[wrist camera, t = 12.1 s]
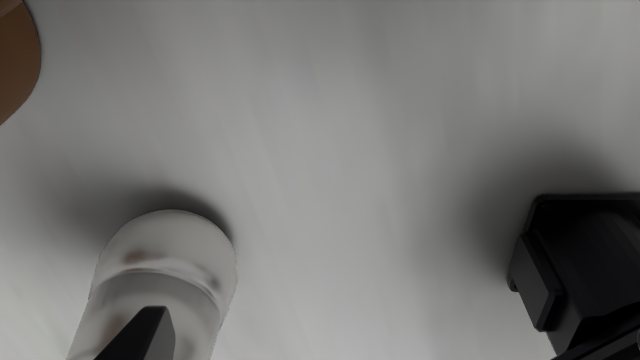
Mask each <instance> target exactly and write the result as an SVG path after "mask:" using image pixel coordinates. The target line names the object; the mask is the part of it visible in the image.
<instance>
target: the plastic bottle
mask: <svg viewBox="0 0 640 360" xmlns="http://www.w3.org/2000/svg"><path fill="white" fill-rule="evenodd" d="M236 286H237V264H236V254H235V251H234V249H233V246H232V244H231V243H230V241H229V240H228V238H227V237H226V236H225V234H224V233H223V232H222V231H221V230H220V229H219V228H218V227H217V226H216V225H215V224H214V223H212V222H211V221H209V220H208V219H206V218H204V217H202V216H200V215H198V214H195V213H191V212H188V211H182V210H160V211H154V212H151V213H148V214H145V215H142V216H139V217H136V218H134V219H132V220H131V221H129V222H127V223H126V224H125V225H124V226H123V227H122V228H121V229H120V230H119V231H118V232H117V233H116V234H115V235H114V237H113V238H112V239H111V240H110V242H109V243H108V244H107V245H106V246H105V248H104V250H103V251H102V253H101V255H100V257H99V260H98V263H97V266H96V269H95V272H94V276H93V279H92V283H91V288H90V293H89V298H88V303H87V306H86V308H85V311H84V313H83V316H82V319H81V321H80V324H79V327H78V329H77V332H76V335H75V337H74V340H73V343H72V345H71V348H70V350H69V353H68V356H67V358H66V360H93V359H94V358H95V357H96V356H97V355H98V354H99V353H100V352H101V351H102V350H103V349H104V348H105V347H106V345H107V344H108V343H109V342H110V341H111V340H112V339H113V338H114V337H115V336H116V335H117V334H118V333H119V332H120V331H121V330H122V329H123V327H124V326H125V325H126V324H127V323H128V322H129V321H130V320H131V319H132V318H133V317H134V316H135V315H136V314H137V313H138V312H139V311H140V310H141V309H142V308H143V307H145V306H149V305H163V306H166V307H167V308H168V309H169V312H170V316H171V319H172V323H173V327H174V330H175V335H176V343H175V350H174V356H173V360H210V359H211V355H212V352H213V349H214V345H215V342H216V339H217V335H218V332H219V330H220V328H221V326H222V323H223V321H224V319H225V317H226V315H227V313H228V311H229V308H230V305H231V302H232V299H233V297H234V294H235V291H236Z"/></svg>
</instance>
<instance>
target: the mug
mask: <svg viewBox="0 0 640 360" xmlns="http://www.w3.org/2000/svg"><path fill="white" fill-rule="evenodd" d="M22 1H23V0H0V125H2V124H3V123H4V122H5V121H6V120H7V119H8V118H9V117H10V116H11V115H12V114H14V113H15V112H16V111H17V110H18V109H19V108H20V107H21V106H22V105H23V103H24V102H25V101H26V100H27V99H28V97H29V96H30V94H31V93H32V91H33V89H34V87H35V85H36V83H37V80H38V77H39V73H40V68H41V51H40V44H39V40H38V35H37V31H36V29H35V26H34V23H33V20H32V18H31V16H30V14H29V12H28V10H27V8H26V7H25V5H24V3H23V2H22Z"/></svg>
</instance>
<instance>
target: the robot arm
mask: <svg viewBox="0 0 640 360" xmlns="http://www.w3.org/2000/svg"><path fill="white" fill-rule="evenodd" d="M544 204H547V205H545V206H543V207H541V206H542V205H544ZM509 271H510V274H509V277H508V280H507V283H508V286H509V288H510V290H511V291H513V292H519V294H520V296H521V298H522V300H523V303H524V305H525V307H526V310H527V312H528V314H529V317H530V319H531V321H532V323H533V326H534V328H535V329H536V330H537V331H538V332H546V333H547V336H548V338H549V340H550V342H551V344H552V347H553V349H554V351H555V353H556V355H557V356H556V357H554V358H552V359H550V360H640V195H541V196H538V197H537V198H536V199H534V201H533V203H532V206H531V209H530V212H529V215H528V218H527V221H526V225H525V228H524V231H523V232H522V233H521V234H520V235H519V238H518V241H517V244H516V247H515V250H514V253H513V256H512V259H511V263H510V266H509ZM175 343H176V335H175V330H174V327H173V323H172V319H171V316H170V312H169V309H168V308H167V307H166V306H163V305H149V306H145V307H143V308H142V309H141V310H140V311H139V312H138V313H137V314H136V315H135V316H134V317H133V318H132V319H131V320H130V321H129V322H128V323H127V324H126V325H125V326H124V327H123V329H122V330H121V331H120V332H119V333H118V334H117V335H116V336H115V337H114V338H113V339H112V340H111V341H110V342H109V343H108V344H107V345H106V347H105V348H104V349H103V350H102V351H101V352H100V353H99V354H98V355H97V356H96V357H95V358H94V359H93V360H173V356H174V350H175Z"/></svg>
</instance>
